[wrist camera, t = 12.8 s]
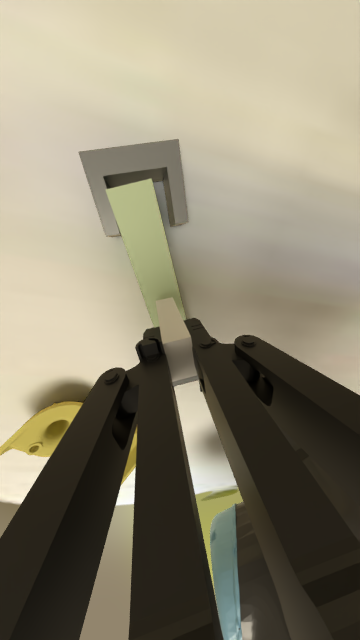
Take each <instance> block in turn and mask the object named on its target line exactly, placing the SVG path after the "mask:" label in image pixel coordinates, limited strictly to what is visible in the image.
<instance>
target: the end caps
mask: <svg viewBox="0 0 360 640" xmlns="http://www.w3.org/2000/svg"><path fill="white" fill-rule="evenodd" d="M79 155H80V158H81V161H82V164H83V168H84V171H85V174H86V177H87V180H88V183H89V186H90V189H91V192H92V195H93V198H94V201H95V204H96V208H97V211H98V214H99V217H100V220H101V223H102V226H103V229H104V232H105V235H106V236H107V237H116V236H122V235H121V233H120V230H119V227H118V224H117V221H116V219H115V216H114V213H113V210H112V207H111V204H110V202H109V199H108V196H107V193H106V189H110V188H114V187H118V186H123V185H127V184H131V183H135V182H139V181H143V180H147V179H151V178H152V182H157V181H163V184H164V190H165V196H166V202H167V209H168V215H169V221H170V227H173V226H178V225H182V224H185V223H187V222H188V214H187V205H186V197H185V189H184V180H183V172H182V163H181V155H180V147H179V139H175V140H167V141H159V142H151V143H144V144H136V145H128V146H120V147H112V148H105V149H97V150H89V151H81V152H79ZM196 380H199V377H198V374H197V375H196V376H193V377H189V378H185V379H181V380H178V381H174V382H173V387H174V386H177V385H181V384H185V383H189V382H192V381H196Z"/></svg>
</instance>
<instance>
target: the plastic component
mask: <svg viewBox="0 0 360 640" xmlns="http://www.w3.org/2000/svg"><path fill="white" fill-rule="evenodd" d="M82 404H83V403H81V402H63V401H62V402H61V403H58V404H56V403H53V405H52V406H49V407H47V408H45V409H43V410H41V411H40V412H38V413H37V414H35V415H34V416H33V417H32V418H30V419H29V420H28V421H27V422H26V423H25V424H24V425H23V426H22V427H21V428H20V429H19V430H18V431H17V432H16V433H15V434H14V435H13V436H12V437H11V438H10V439H8V440H7V441H6V442H5V443H4V444H3V445H2V446H1V447H0V455H2V454H3V453H5V452H6V451H8V450H10V449H17V450H20V451H23V452H26V453H27V454H28V455H36V456H41V457H50V456H51V455H52V453H53V452H54V450H55V448H56V447H57V445H58V444H59V442H60V440H61V439H62V437H63V435H64V434H65V432H66V431H67V429H68V427H69V426H70V424H71V422H72V421H73V419H74V417H75V416H76V414H77V413H78V411H79V409H80V408H81V406H82ZM136 447H137V427H136V430H135V434H134V438H133V441H132V445H131V449H130V453H129V456H128V460H127V464H126V467H125V471H124V475H123V479H122V482H121V485H122V483H123V482H124V481H125V479H126V478H127V477H128V476H129V474H130V473H131V472H132V471H133V469H134V468H135V467H136Z"/></svg>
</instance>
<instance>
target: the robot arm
mask: <svg viewBox="0 0 360 640" xmlns="http://www.w3.org/2000/svg"><path fill="white" fill-rule="evenodd" d="M156 308H157V314H158V320H159V327H155V328H151V329H146V331H145V332H144V334H143V340H141V341H139V342H138V344H137V345H136V347H135V348H136V351H137V354H138V357H139V360H140V363H139V364H138V365H137V366H135V367H133V368H132V369H130V370H128V371H126V372H125V370H124V369H123V368H112V369H110V370H108V371H106V372H105V373H103V374H102V375H101V376H100V377H99V379H98V380H97V382H96V383H95V385H94V387H93V388H92V390H91V391H90V393H89V395H88V396H87V398H86V400H85V401H84V403H83V404H82V406H81V408H80V409H79V411H78V413H77V414H76V416H75V417H74V419H73V421H72V422H71V424H70V426H69V427H68V429H67V431H66V432H65V434H64V435H63V437H62V439H61V440H60V442H59V444H58V445H57V447H56V448H55V450H54V452H53V453H52V455H51V457H50V458H49V460H48V461H47V463H46V465H45V466H44V468H43V470H42V471H41V473H40V474H39V476H38V478H37V479H36V481H35V483H34V484H33V486H32V488H31V489H30V491H29V492H28V494H27V496H26V497H25V499H24V501H23V502H22V504H21V505H20V507H19V509H18V510H17V512H16V514H15V515H14V517H13V518H12V520H11V522H10V523H9V525H8V527H7V528H6V530H5V531H4V533H3V535H2V536H1V538H0V640H79V638H80V634H81V630H82V627H83V623H84V619H85V615H86V612H87V608H88V605H89V601H90V597H91V594H92V590H93V586H94V582H95V579H96V575H97V571H98V568H99V564H100V560H101V556H102V553H103V549H104V545H105V542H106V538H107V534H108V530H109V527H110V522H111V519H112V516H113V512H114V508H115V505H116V501H117V497H118V493H119V490H120V486H121V482H122V479H123V475H124V471H125V467H126V464H127V460H128V456H129V453H130V449H131V445H132V441H133V438H134V434H135V430H136V427H137V447H136V473H135V498H134V524H133V550H132V575H131V576H132V577H131V602H130V626H129V640H360V395H358V394H356V393H354V392H353V391H351V390H349V389H347V388H346V387H344V386H342V385H340V384H339V383H337V382H335V381H333V380H332V379H330V378H328V377H326V376H325V375H323V374H321V373H319V372H318V371H316V370H314V369H312V368H311V367H309V366H307V365H305V364H304V363H302V362H300V361H298V360H297V359H295V358H293V357H291V356H290V355H288V354H286V353H284V352H283V351H281V350H279V349H277V348H275V347H274V346H272V345H270V344H268V343H267V342H265V341H263V340H261V339H260V338H258V337H255V336H251V335H242V336H239V337H237V338H236V339H235V341H234V343H235V344H221V343H219V342H218V341H217V340H216V339H215V338H212V337H210V335H209V334H208V332H207V331H206V329H205V328H204V326H203V325H202V323H201V322H200V320H198V319H196V318H192V319H187V320H183V318H182V316H181V314H180V312H179V310H178V308H177V306H176V303H175V301H174V299H173V297H171V298H166V299H162V300H157V301H156ZM196 371H197V372H196ZM197 374H198V377H199V384H200V391H201V392H202V391H203V394H204V396H205V399H206V402H207V405H208V407H209V410H210V413H211V415H212V418H213V421H214V423H215V426H216V429H217V431H218V434H219V437H220V440H221V442H222V445H223V448H224V450H225V453H226V456H227V458H228V461H229V464H230V466H231V469H232V472H233V475H234V477H235V480H236V483H237V485H238V488H239V491H240V493H241V496H242V499H243V501H244V502H241V503H239V504H237V505H236V504H233V506H232V507H231V508H229V509H227V510H225V511H222V512H220V513H219V514H217V515H216V516H215V517H214V519H213V521H212V524H211V531H210V547H211V559H212V560H211V561H212V571H213V579H214V587H215V593H216V594H215V595H216V600H215V595H214V590H213V585H212V580H211V575H210V569H209V564H208V559H207V554H206V549H205V544H204V539H203V534H202V529H201V524H200V519H199V513H198V508H197V504H196V498H195V493H194V488H193V483H192V478H191V473H190V467H189V462H188V457H187V452H186V447H185V442H184V437H183V432H182V427H181V421H180V416H179V411H178V406H177V401H176V396H175V391H174V387H173V382H174V381H178V380H181V379H185V378H189V377H193V376H196V375H197ZM216 601H217V605H216ZM217 608H218V610H217ZM218 614H219V615H218Z"/></svg>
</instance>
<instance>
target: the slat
mask: <svg viewBox="0 0 360 640" xmlns="http://www.w3.org/2000/svg"><path fill="white" fill-rule="evenodd" d="M106 193H107V196H108V199H109V202H110V204H111V207H112V210H113V213H114V216H115V219H116V221H117V224H118V227H119V230H120V233H121V235H122V238H123V241H124V244H125V247H126V249H127V252H128V255H129V258H130V261H131V264H132V266H133V269H134V272H135V275H136V278H137V280H138V283H139V286H140V289H141V292H142V294H143V297H144V300H145V303H146V306H147V309H148V311H149V314H150V317H151V320H152V323H153V325H154V328H155V327H159V320H158V314H157V308H156V301H157V300H162V299H166V298H171V297H173V299H174V301H175V303H176V306H177V308H178V310H179V312H180V314H181V316H182V318H183V320H186V317H185V313H184V309H183V305H182V300H181V296H180V292H179V288H178V284H177V280H176V276H175V272H174V268H173V264H172V260H171V256H170V252H169V248H168V243H167V239H166V235H165V231H164V227H163V223H162V219H161V215H160V211H159V207H158V203H157V199H156V195H155V190H154V186H153V182H152V178H151V179H147V180H143V181H139V182H135V183H131V184H127V185H123V186H118V187H114V188H110V189H106ZM196 372H197V371H196Z"/></svg>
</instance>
